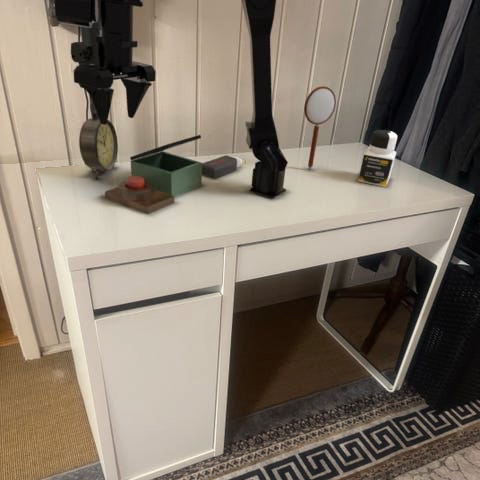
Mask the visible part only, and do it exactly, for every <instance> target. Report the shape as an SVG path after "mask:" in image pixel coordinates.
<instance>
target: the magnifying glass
mask: <svg viewBox="0 0 480 480" xmlns="http://www.w3.org/2000/svg"><path fill="white" fill-rule="evenodd" d="M336 104H337V100H336V95H335V93H334V90H332V89H331V87H328V86H318V87H316V88H314V89H313V90H311V92H310V93H309V94H308V95H307V97H306V98H305V102H304V107H303V111H304V116H305V118H306V120H307V121H308V122H309V123H310V124H312V125H314V126H313V133H312V139H311V145H310V149H309V150H310V151H309V158H308V163H307V167H308V168H307V169H308V171H311V170H312V167H313V166H314V160H315V154H316V147H317V143H318V138H319V137H318V136H319V132H320V131H319V130H320V126H319V125H322V124H324V123H326V122H327V121H329V120H330V118H332V116H333V114H334V112H335V109H336Z"/></svg>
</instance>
